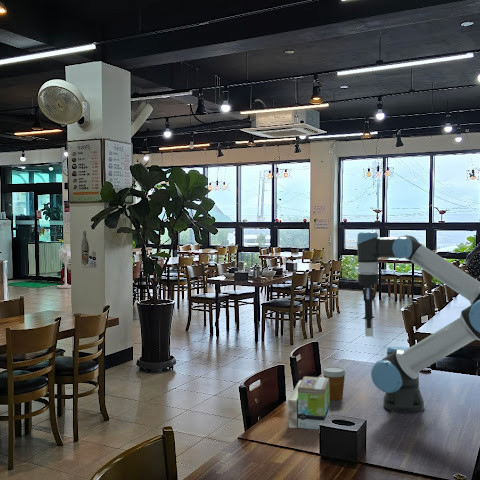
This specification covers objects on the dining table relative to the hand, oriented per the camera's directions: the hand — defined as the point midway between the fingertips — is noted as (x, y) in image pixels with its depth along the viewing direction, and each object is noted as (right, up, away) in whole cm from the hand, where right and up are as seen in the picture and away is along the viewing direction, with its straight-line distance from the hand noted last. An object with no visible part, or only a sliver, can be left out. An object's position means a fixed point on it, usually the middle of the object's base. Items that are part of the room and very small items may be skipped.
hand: (369, 336), depth 206 cm
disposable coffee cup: (-10, -29, +20) cm, 36 cm away
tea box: (-21, -31, -6) cm, 38 cm away
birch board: (-26, -30, +1) cm, 40 cm away
